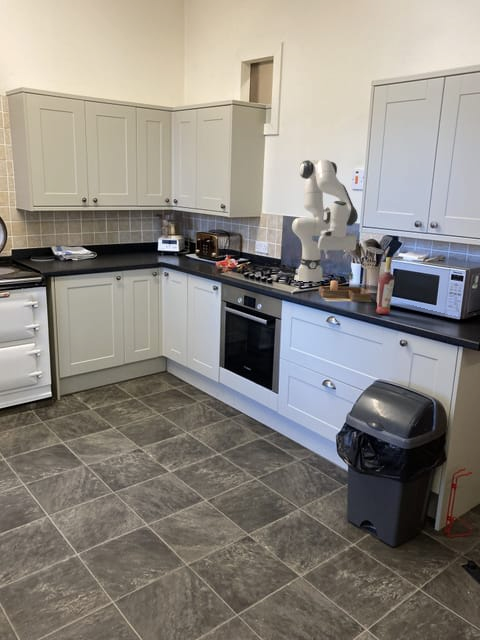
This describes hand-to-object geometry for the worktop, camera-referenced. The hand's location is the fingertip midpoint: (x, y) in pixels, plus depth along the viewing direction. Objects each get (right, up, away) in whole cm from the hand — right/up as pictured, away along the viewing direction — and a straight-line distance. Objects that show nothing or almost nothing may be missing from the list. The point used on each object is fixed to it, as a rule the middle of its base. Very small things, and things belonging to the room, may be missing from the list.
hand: (335, 258), depth 288 cm
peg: (0, -20, +6) cm, 21 cm away
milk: (+24, -24, -2) cm, 34 cm away
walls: (+5, -21, +3) cm, 21 cm away
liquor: (+19, -30, -23) cm, 42 cm away
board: (+5, -22, +3) cm, 23 cm away
